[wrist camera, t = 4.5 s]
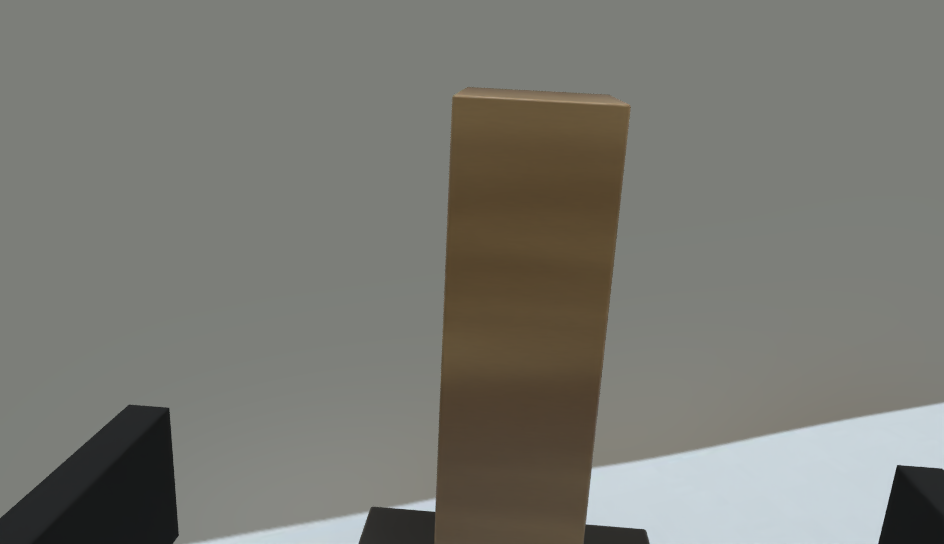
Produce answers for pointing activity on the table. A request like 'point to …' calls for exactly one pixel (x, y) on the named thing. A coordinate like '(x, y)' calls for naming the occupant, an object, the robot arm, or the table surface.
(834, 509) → the table surface
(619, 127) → the brush
